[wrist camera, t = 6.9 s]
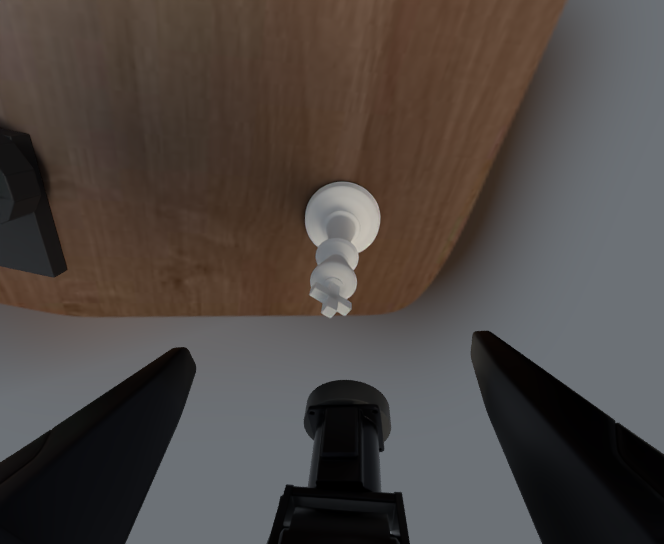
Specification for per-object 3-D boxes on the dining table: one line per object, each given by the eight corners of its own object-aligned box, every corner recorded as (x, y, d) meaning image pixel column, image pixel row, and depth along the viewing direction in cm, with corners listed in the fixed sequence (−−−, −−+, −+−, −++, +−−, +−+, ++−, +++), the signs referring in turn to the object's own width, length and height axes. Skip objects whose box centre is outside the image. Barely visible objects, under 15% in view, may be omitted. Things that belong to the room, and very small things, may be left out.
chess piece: (332, 165, 18) (307, 223, 9) (395, 210, 19) (426, 301, 10) (291, 227, 20) (241, 321, 12) (350, 265, 21) (345, 377, 13)
